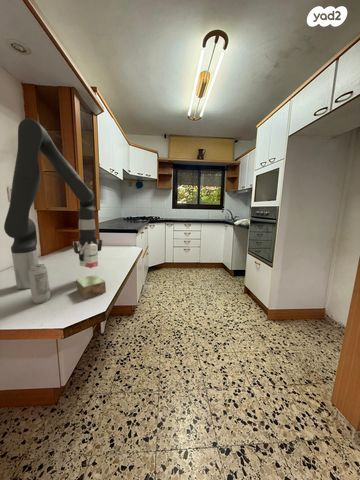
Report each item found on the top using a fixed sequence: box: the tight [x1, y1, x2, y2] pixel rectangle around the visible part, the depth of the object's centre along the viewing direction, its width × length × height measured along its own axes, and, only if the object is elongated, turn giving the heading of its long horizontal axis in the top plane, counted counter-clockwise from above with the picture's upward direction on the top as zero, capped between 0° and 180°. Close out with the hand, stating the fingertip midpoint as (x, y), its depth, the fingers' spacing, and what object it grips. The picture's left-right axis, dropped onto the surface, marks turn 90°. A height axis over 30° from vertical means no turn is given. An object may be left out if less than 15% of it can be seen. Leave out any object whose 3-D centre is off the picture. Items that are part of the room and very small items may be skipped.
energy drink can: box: [28, 263, 51, 304], centre depth 76 cm, size 6×6×15 cm
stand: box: [75, 274, 107, 299], centre depth 86 cm, size 9×11×5 cm
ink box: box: [78, 243, 99, 269], centre depth 98 cm, size 9×5×12 cm, turn 65°
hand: (88, 259), depth 98 cm, fingers closed on ink box, 6 cm apart
